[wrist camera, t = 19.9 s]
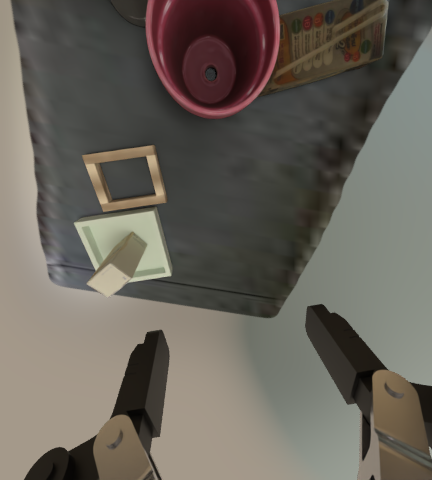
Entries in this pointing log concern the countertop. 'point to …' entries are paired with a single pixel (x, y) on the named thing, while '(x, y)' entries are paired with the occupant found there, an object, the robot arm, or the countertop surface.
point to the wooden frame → (95, 159)
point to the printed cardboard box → (327, 41)
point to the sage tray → (116, 229)
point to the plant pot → (213, 51)
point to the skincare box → (118, 266)
